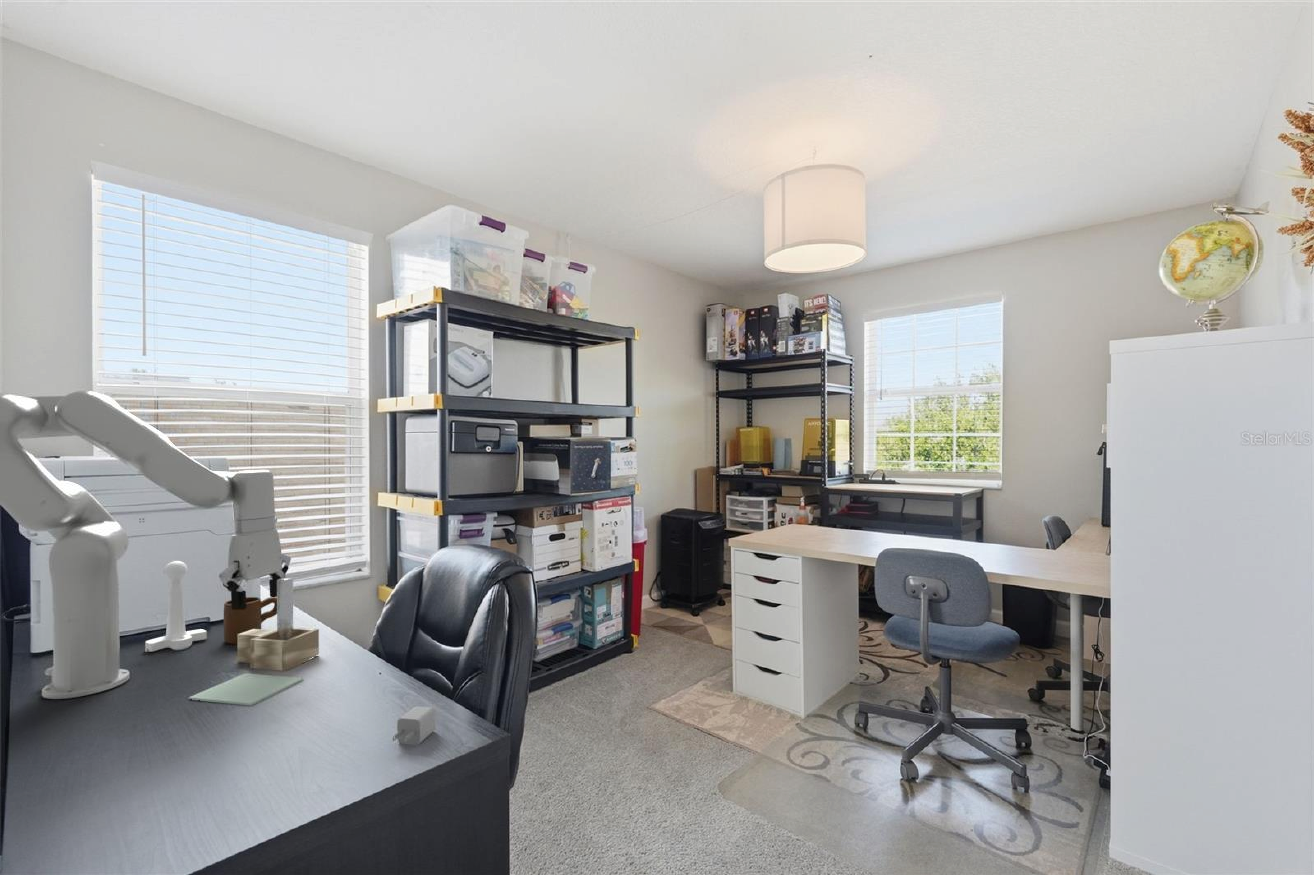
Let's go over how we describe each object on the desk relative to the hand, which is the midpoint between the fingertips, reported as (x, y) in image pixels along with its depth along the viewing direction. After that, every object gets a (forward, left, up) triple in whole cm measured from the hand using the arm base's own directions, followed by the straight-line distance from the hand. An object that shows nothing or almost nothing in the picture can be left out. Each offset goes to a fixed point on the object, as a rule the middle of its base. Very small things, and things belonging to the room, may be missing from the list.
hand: (258, 602), depth 134 cm
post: (+7, -1, -12) cm, 14 cm away
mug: (-15, +12, -13) cm, 23 cm away
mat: (+12, -15, -12) cm, 23 cm away
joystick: (-27, +3, -13) cm, 30 cm away
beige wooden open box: (+4, -1, -12) cm, 13 cm away
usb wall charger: (+56, -26, -13) cm, 64 cm away
